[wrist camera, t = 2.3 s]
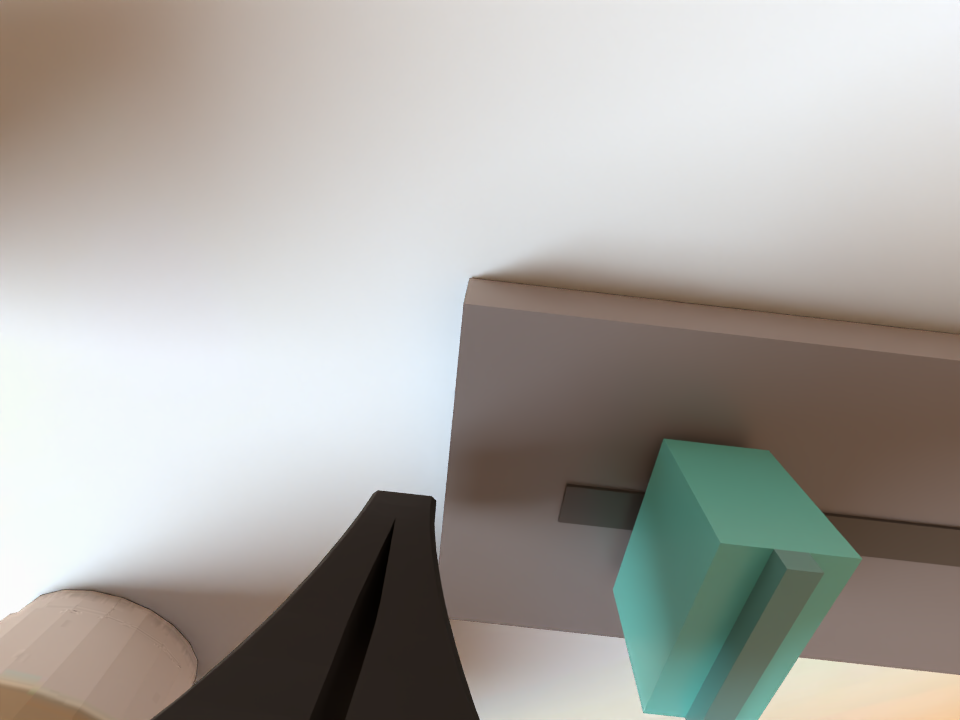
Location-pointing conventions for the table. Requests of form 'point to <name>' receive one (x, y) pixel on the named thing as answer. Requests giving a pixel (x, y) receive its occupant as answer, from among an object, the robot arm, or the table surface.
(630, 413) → the fader console
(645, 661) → the fader tab
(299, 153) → the table surface
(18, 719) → the coffee cup
